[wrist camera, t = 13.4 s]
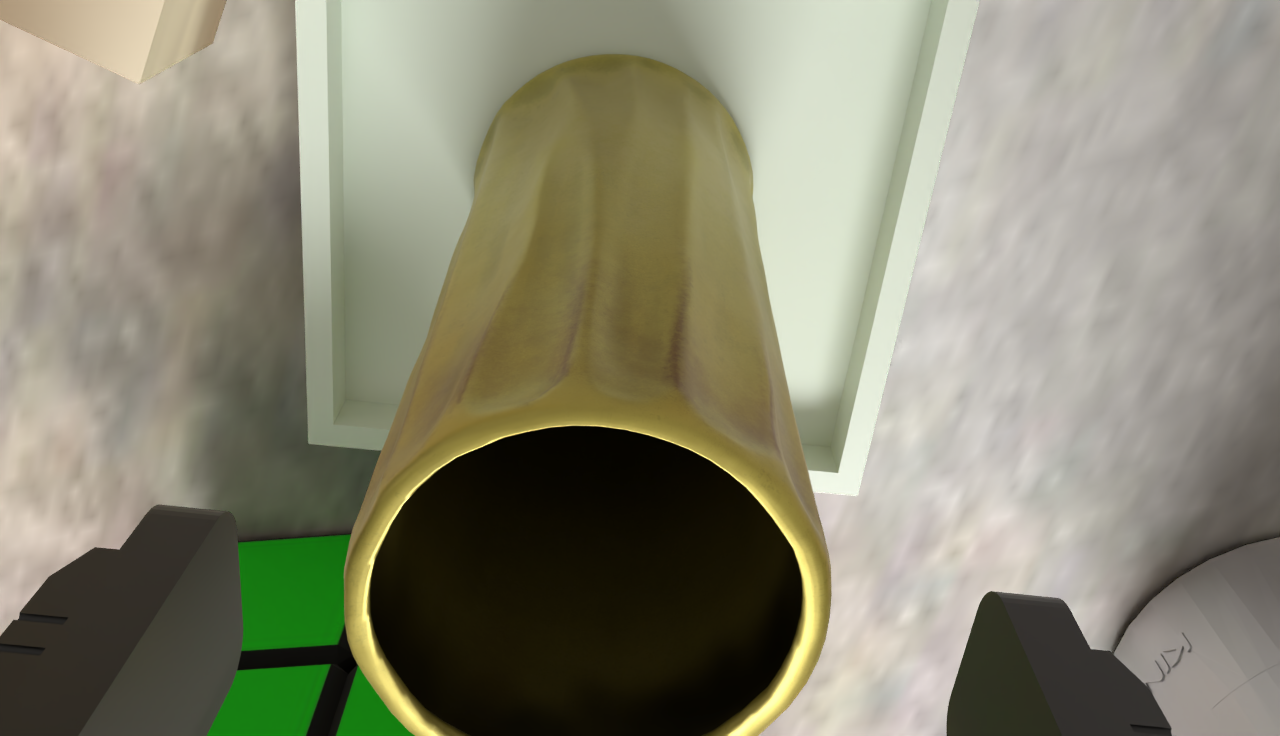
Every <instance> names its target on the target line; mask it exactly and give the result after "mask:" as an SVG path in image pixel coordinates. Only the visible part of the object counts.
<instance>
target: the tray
mask: <svg viewBox="0 0 1280 736" xmlns="http://www.w3.org/2000/svg"><path fill="white" fill-rule="evenodd" d="M979 2H980V0H295V14H296V48H297V82H298V116H299V150H300V183H301V217H302V251H303V285H304V319H305V353H306V386H307V420H308V444H314V445H325V446H335V447H346V448H356V449H367V450H377V451H382V448H383V446H384V444H385V441H386V439H387V436H388V434H389V431H390V428H391V426H392V423H393V420H394V418H395V415H396V412H397V409H398V407H399V404H400V401H401V399H402V396H403V393H404V390H405V388H406V385H407V382H408V380H409V377H410V375H411V372H412V370H413V368H414V365H415V363H416V361H417V359H418V357H419V355H420V352H421V350H422V348H423V345H424V343H425V341H426V338H427V335H428V332H429V328H430V324H431V321H432V317H433V314H434V311H435V308H436V305H437V302H438V298H439V295H440V292H441V289H442V286H443V284H444V280H445V277H446V274H447V271H448V268H449V264H450V261H451V258H452V256H453V253H454V250H455V248H456V245H457V243H458V240H459V238H460V236H461V233H462V231H463V229H464V226H465V224H466V222H467V219H468V216H469V213H470V210H471V207H472V203H473V200H474V174H475V168H476V163H477V159H478V156H479V153H480V150H481V147H482V144H483V142H484V139H485V137H486V134H487V132H488V129H489V127H490V125H491V123H492V121H493V119H494V117H495V115H496V114H497V112H498V111H499V110H500V108H501V107H502V105H503V104H504V103H505V102H506V101H507V100H508V99H509V98H510V97H511V96H512V95H513V94H514V93H515V92H516V91H518V90H519V89H520V88H521V87H522V86H523V85H525V84H526V83H527V82H528V81H530V80H531V79H533V78H534V77H536V76H537V75H538V74H540V73H542V72H544V71H546V70H548V69H550V68H552V67H554V66H556V65H559V64H561V63H563V62H566V61H570V60H573V59H576V58H581V57H587V56H592V55H603V54H625V55H635V56H641V57H645V58H650V59H653V60H656V61H659V62H662V63H665V64H667V65H669V66H672V67H674V68H676V69H678V70H680V71H681V72H683V73H685V74H687V75H688V76H690V77H691V78H693V79H695V80H696V81H698V82H699V83H700V84H702V85H703V86H704V87H705V88H706V89H708V90H709V91H710V92H711V93H712V94H713V95H714V96H715V97H716V98H717V99H718V100H719V101H720V103H721V104H722V105H723V106H724V107H725V109H726V110H727V112H728V113H729V114H730V116H731V117H732V119H733V120H734V122H735V124H736V126H737V128H738V130H739V132H740V134H741V136H742V138H743V140H744V143H745V145H746V148H747V151H748V154H749V157H750V162H751V166H752V171H753V202H754V207H755V214H756V222H757V232H758V240H759V246H760V251H761V256H762V261H763V265H764V270H765V276H766V281H767V287H768V293H769V299H770V304H771V309H772V313H773V318H774V322H775V327H776V332H777V337H778V341H779V346H780V351H781V356H782V361H783V366H784V371H785V375H786V380H787V384H788V389H789V395H790V400H791V404H792V408H793V412H794V416H795V419H796V424H797V428H798V432H799V436H800V440H801V444H802V448H803V453H804V457H805V461H806V464H807V468H808V472H809V477H810V481H811V485H812V489H813V492H819V493H829V494H840V495H850V496H858V493H859V489H860V485H861V481H862V477H863V472H864V468H865V464H866V460H867V456H868V452H869V448H870V444H871V440H872V436H873V432H874V428H875V424H876V420H877V416H878V412H879V408H880V403H881V399H882V395H883V391H884V387H885V383H886V379H887V375H888V371H889V367H890V363H891V359H892V355H893V351H894V347H895V343H896V339H897V334H898V330H899V326H900V322H901V318H902V314H903V310H904V306H905V302H906V298H907V294H908V290H909V286H910V282H911V278H912V274H913V270H914V265H915V261H916V257H917V253H918V249H919V245H920V241H921V237H922V233H923V229H924V225H925V221H926V217H927V213H928V209H929V205H930V201H931V196H932V192H933V188H934V184H935V180H936V176H937V172H938V168H939V164H940V160H941V156H942V152H943V148H944V144H945V140H946V136H947V132H948V127H949V123H950V119H951V115H952V111H953V107H954V103H955V99H956V95H957V91H958V87H959V83H960V79H961V75H962V71H963V67H964V63H965V58H966V54H967V50H968V46H969V42H970V38H971V34H972V30H973V26H974V22H975V18H976V14H977V10H978V6H979Z"/></svg>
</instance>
